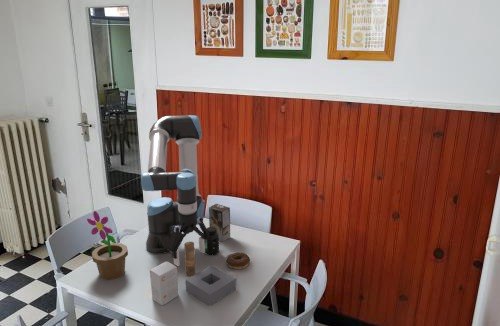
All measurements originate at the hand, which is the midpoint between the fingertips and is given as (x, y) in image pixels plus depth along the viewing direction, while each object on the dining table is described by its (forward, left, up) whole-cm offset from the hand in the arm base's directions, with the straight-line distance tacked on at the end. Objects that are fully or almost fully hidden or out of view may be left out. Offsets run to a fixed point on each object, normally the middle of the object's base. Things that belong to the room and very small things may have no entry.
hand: (189, 258), depth 161 cm
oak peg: (0, 0, -8) cm, 8 cm away
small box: (+5, -17, -8) cm, 19 cm away
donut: (+10, +19, -8) cm, 23 cm away
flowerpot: (-25, -22, -8) cm, 34 cm away
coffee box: (-14, +31, -8) cm, 35 cm away
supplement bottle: (-6, +18, -8) cm, 21 cm away
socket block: (+15, -2, -8) cm, 17 cm away
